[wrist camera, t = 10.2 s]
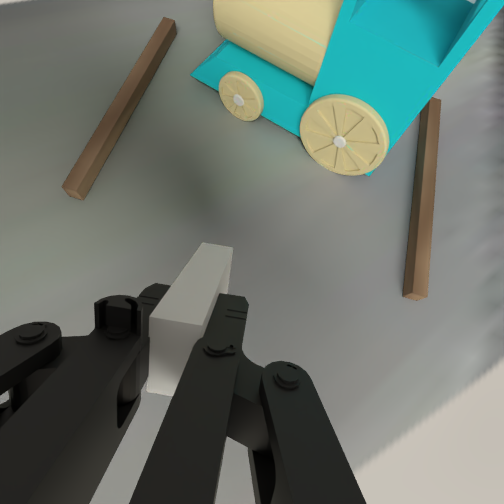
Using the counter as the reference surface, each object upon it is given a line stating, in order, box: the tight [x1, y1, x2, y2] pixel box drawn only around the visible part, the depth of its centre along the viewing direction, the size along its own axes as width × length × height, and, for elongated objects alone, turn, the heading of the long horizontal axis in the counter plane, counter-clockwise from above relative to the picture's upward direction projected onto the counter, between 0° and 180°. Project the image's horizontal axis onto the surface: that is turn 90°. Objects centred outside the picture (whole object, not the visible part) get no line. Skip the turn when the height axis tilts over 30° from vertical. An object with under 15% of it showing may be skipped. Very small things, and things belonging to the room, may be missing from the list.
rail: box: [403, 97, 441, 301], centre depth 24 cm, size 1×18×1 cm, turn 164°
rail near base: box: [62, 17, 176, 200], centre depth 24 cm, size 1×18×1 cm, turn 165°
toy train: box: [190, 0, 504, 176], centre depth 20 cm, size 8×17×15 cm, turn 58°
